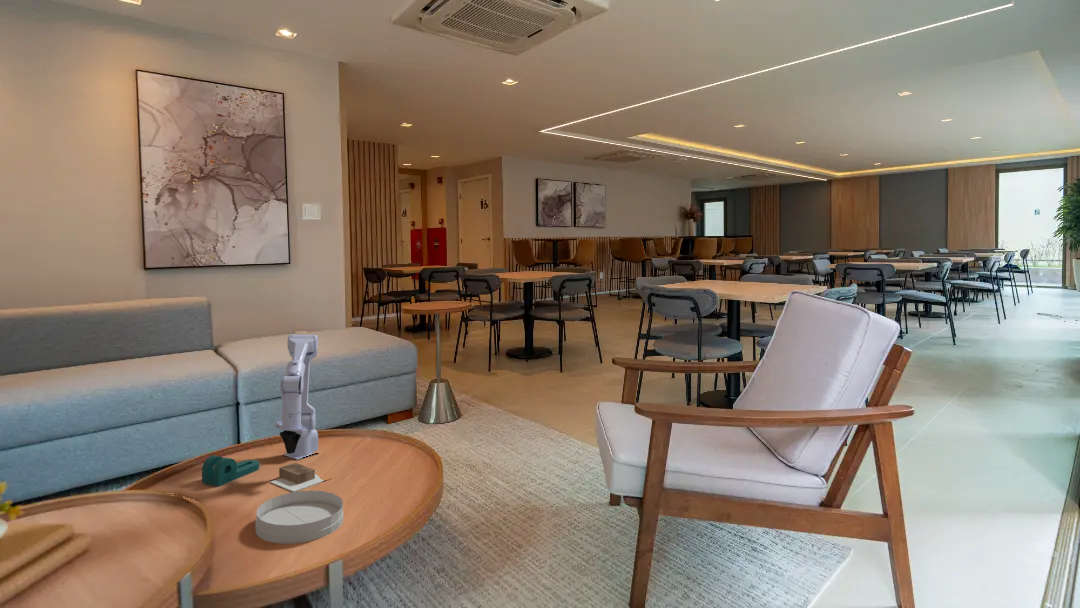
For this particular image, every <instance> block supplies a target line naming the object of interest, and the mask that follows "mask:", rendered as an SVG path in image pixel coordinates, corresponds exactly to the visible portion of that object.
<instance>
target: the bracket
mask: <svg viewBox="0 0 1080 608" xmlns="http://www.w3.org/2000/svg"><path fill="white" fill-rule="evenodd" d="M259 470H260V461H259V460H257V459H246V460H242V461H239V462H236V460H235V459H234V458H230V457H223V456H220V455H216V454H215V455H211V456H209V457H207V458H206V459H205V460H204V462H203V464H202V468H201V484H205V485H209V486H213V487H218V488H219V487H221V486H223V485H226V484H229V483H232V482H233V481H236V480H238V479H240V478H243V477H246V476H248V475H249V474H252V473H255V472H257V471H259Z"/></svg>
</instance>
